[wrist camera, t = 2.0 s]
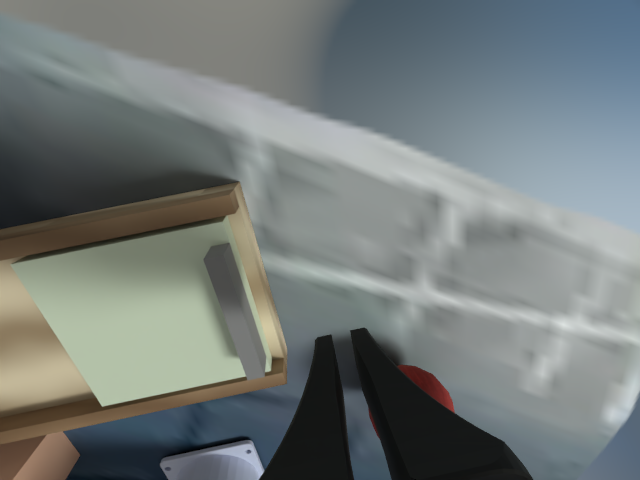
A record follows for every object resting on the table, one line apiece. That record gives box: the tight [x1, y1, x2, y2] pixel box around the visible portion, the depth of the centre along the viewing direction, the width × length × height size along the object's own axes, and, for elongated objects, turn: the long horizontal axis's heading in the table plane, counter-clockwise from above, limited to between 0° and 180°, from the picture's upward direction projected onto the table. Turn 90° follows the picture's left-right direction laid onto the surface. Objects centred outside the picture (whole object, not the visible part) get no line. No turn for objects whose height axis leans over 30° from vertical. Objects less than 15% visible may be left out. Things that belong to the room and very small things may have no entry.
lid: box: [10, 215, 272, 407], centre depth 17 cm, size 10×11×3 cm
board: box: [0, 182, 287, 444], centre depth 19 cm, size 13×24×3 cm, turn 100°
